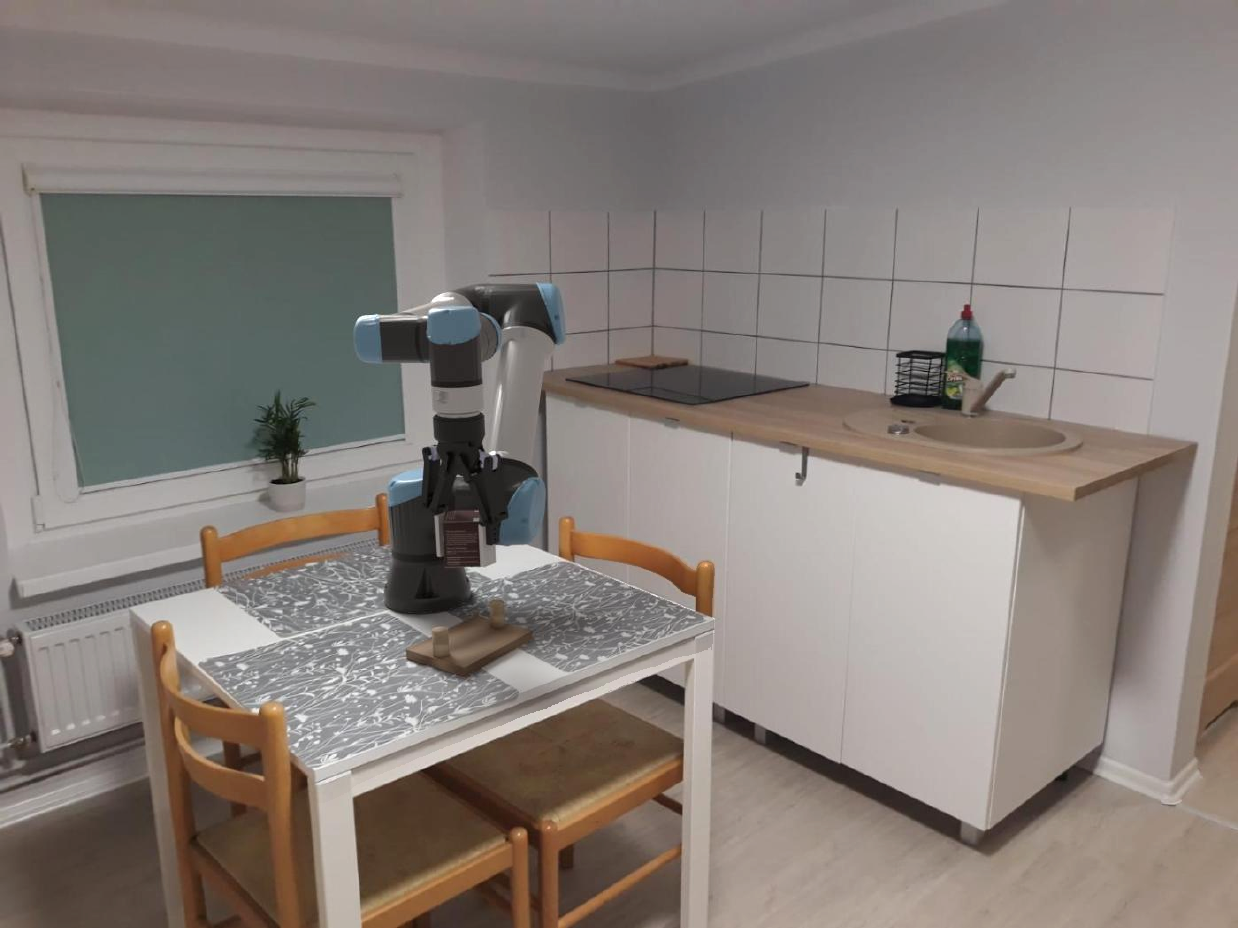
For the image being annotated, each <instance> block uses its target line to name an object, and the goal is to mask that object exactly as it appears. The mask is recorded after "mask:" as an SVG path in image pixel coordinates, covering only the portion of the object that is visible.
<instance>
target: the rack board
mask: <svg viewBox="0 0 1238 928" xmlns="http://www.w3.org/2000/svg"><path fill="white" fill-rule="evenodd" d="M488 606H489V617H486V616H483V615H478V614H475V615H473V616H471V617H469V618H467V619H465V620H463V621H461V622H459V623H456V624H455V625H453V626H451V627H449V628H448V627H446V626H436V627H434V628H432V629H431V636H430V637H428V638H426V639H424V640H422V641H420V642H418V643H416V644H413V645H411V646H410V647H408V648H406V649H405V656H406V657H405V658H406V659H407V660H411V661H414V662H416V663H420V664H423V665H426V666H429V667H432V668H435V669H439V670H442V671H445V672H448V673H452V674H453V675H457V676H461V677H464V678H466V677H467V676H470V675H471V674H474V673H475V672H476V671H479V670H480V669H482V668H484V667H486V666H487V665H489V664H491V663H492V662H495V661H496V660H499V659H500V658H503V656H506V655H507V654H509V653H511V652H512V651H515V650H516V649H518V648H520V647H522V646H524V645H525V644H527V643H529V642H531V641H532V640H534V630H533V629H529V628H525V627H523V626H522V627H521V626H519V625H517V624H511V623H508V622H506V610H505V608H506V605H505V601H504V600H503V599H498V598H497V599H493V600H490V601H489V605H488Z"/></svg>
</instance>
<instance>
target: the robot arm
mask: <svg viewBox="0 0 1238 928" xmlns="http://www.w3.org/2000/svg"><path fill="white" fill-rule="evenodd" d="M566 331H567V330H566V318H565V310H564V303H563V298H562V294H561V290H560V289H559V287H558V286H557V285H556V284H553V283H544V282H543V283H540V282H537V281H536V282H535V283H478V284H477V283H476V284H471V285H466V286H464V287H459V288H455V289H452V290H448V291H446V292H443V293H441V294H438V295H436V296H435V297H434V298H432V300H431V301H430V302H429V303H426V304H422V305H419V306H415V307H413V308H409V309H406V310H403V311H400V312H395V313H391V314H379V313H375V314H371V315H362V316H359V318H358V319H357V320H356V322H355V324H354V328H353V347H354V351H355V353H356V356H357V357H358V359H359V360H360V361H361V362H363V363H366V364H367V363H368V364H379V365H383V364H429V371H430V373H429V374H430V385H431V386H430V388H431V403H432V404H431V405H432V412H434V413H436V414H434V415H433V417H432V424H433V425H432V426H433V427H432V428H433V438H434V440H436V441H437V444H431V445H428V446H424V447H422V449H421V454H422V455H421V456H422V460H423V467H420V468H415V469H411V470H407V471H404V472H402V473H399V474H396V476H393V477H392V478H391V479H390V480H389V482H388V484H387V487H386V488H387V489H386V491H387V492H386V494H387V497H386V499H387V502H386V507H387V516H388V518H387V519H388V529H389V530H388V531H389V543H390V554H391V561H390V564H389V569H388V574H387V578H386V579H387V580H386V582H385V585H384V586H383V587H384V588H383V600H384V604H385V605H386V607H387V608H389V609H391V610H392V611H396V612H400V613H406V614H430V613H431V614H432V613H439V612H444V611H448V610H452V609H455V608H457V607H459V606H461V605H463V604H466V603H467V602H468V601H469V600H470V598H471V596H472V588H471V587H472V586H471V582H470V579H469V576H467V573H466V570H465V567H460V568H445V567H444V544H443V518H444V515H445V512H446V511H465V510H478V511H479V514H480V516H481V519H482V522H483V523H481V524H479V545H480V565H481V567H480V568H487V567H488V566H491V565H493V564H495V563H497V551H496V550H497V549H496V546H503V547H511V546H525V545H529V544H531V543H532V542H533V541H534V540H535V539H536V537H537V536H538V534H539V532H540V530H541V527H542V524H543V520H544V516H545V510H546V505H545V504H546V498H547V491H546V485H545V482H544V481H543V479H542V478H539V472H538V469H537V468H536V467H535V466H533V464H532V462H533V454H534V447H535V446H534V445H535V440H536V432H537V425H538V423H537V422H538V416H539V409H540V408H539V407H540V402H541V401H540V400H541V394H542V385H543V379H544V371H545V363H546V361H548V360H549V359H550V358H552V356H553V355H554V354H555V350H556V349H555V348H556V345H557V346H560V345H564V344H565V342H566V339H567V338H566V336H567V334H566ZM496 353H498V354H499V356H498V363H497V368H496V375H495V382H494V389H493V395H492V400H491V407H490V413H489V420H488V425H487V431H486V425H485V424H486V423H485V422H486V421H485V415H484V413H483V412H481V411H483V410H484V409H485V401H484V400H485V398H484V386H483V385H484V384H483V381H484V380H483V363H484V362H485V361H489V360H490V359H491V358H493V357H494V356H495V354H496ZM485 436H486V438H485ZM484 438H485V445H483V442H484Z"/></svg>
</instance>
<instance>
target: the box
mask: <svg viewBox="0 0 1238 928" xmlns="http://www.w3.org/2000/svg"><path fill="white" fill-rule="evenodd" d="M481 523H483V522H482V519H481V516H480V514H479V511H478V510H465V511H446V512H445V515H444V518H443V544H444V567H445V568H460V567H464V568H482V567H481V565H480V545H479V524H481Z"/></svg>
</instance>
